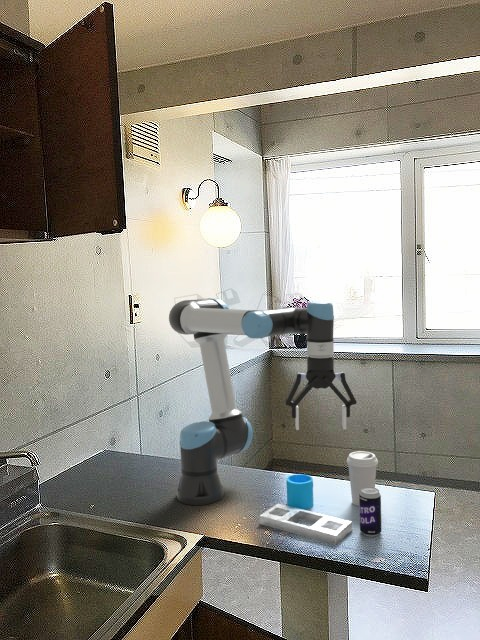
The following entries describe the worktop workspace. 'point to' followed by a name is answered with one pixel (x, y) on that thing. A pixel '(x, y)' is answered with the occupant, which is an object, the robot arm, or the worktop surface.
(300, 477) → the mug
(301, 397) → the robot arm
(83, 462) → the worktop surface
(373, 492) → the beverage can
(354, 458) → the coffee cup
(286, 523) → the white compartment tray
